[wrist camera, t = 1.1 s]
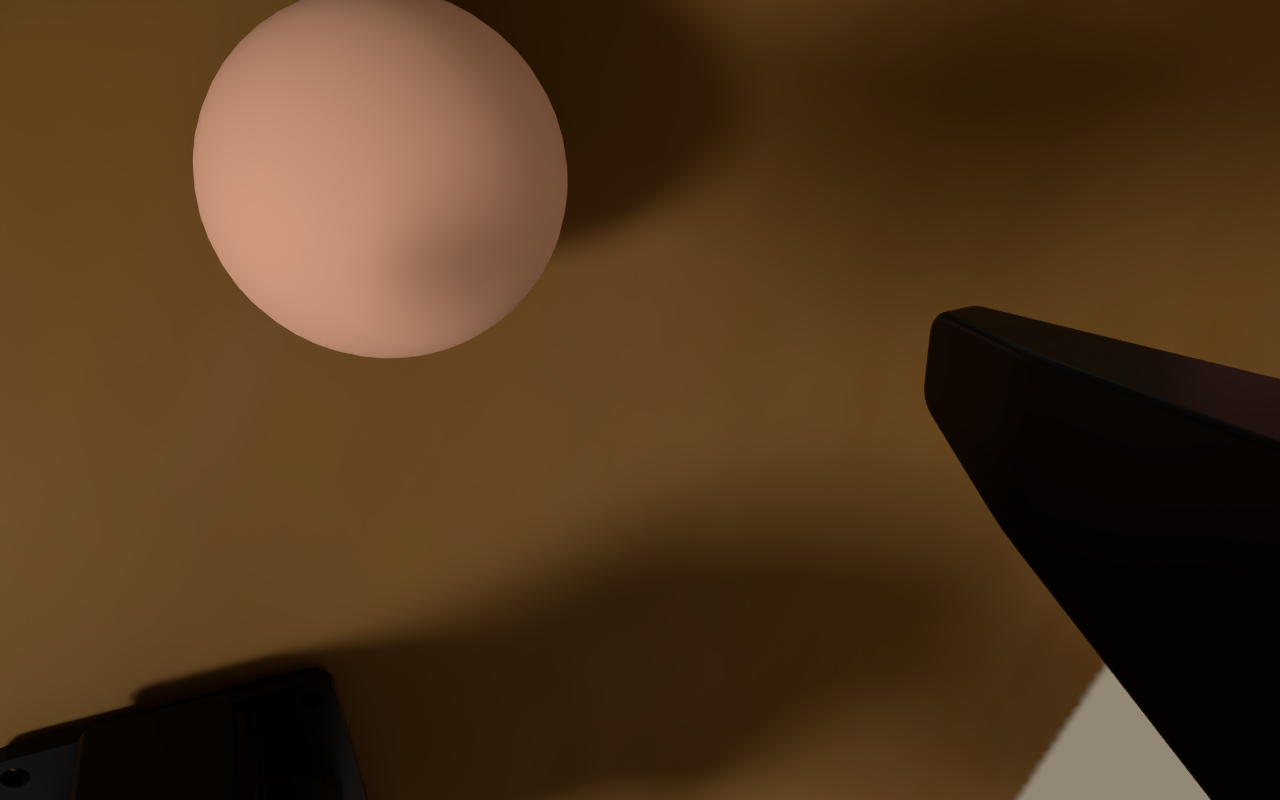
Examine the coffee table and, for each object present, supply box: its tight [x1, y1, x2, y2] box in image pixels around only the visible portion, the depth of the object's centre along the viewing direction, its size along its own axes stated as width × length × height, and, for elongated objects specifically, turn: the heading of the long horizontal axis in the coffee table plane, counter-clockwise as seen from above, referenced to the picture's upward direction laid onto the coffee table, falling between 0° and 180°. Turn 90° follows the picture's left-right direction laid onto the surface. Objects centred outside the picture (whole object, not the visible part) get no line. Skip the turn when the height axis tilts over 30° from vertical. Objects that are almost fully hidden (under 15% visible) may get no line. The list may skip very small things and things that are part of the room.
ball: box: [193, 0, 568, 358], centre depth 15 cm, size 5×5×5 cm
